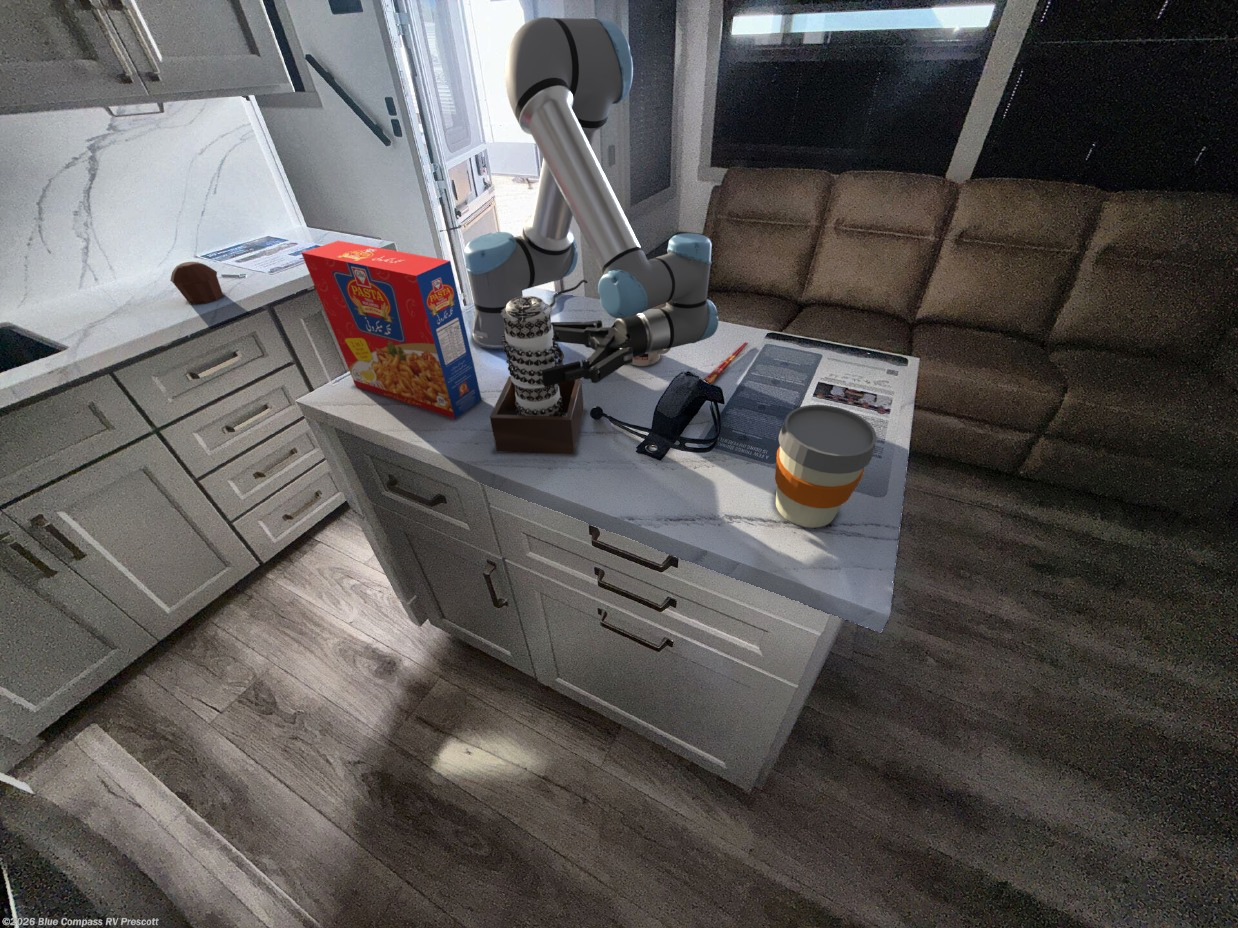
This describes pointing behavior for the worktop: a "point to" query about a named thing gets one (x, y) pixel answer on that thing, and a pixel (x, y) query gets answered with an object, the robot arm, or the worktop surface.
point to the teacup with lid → (648, 358)
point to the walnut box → (538, 423)
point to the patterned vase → (531, 355)
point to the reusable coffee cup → (820, 462)
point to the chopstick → (723, 365)
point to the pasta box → (397, 324)
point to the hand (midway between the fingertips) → (529, 360)
